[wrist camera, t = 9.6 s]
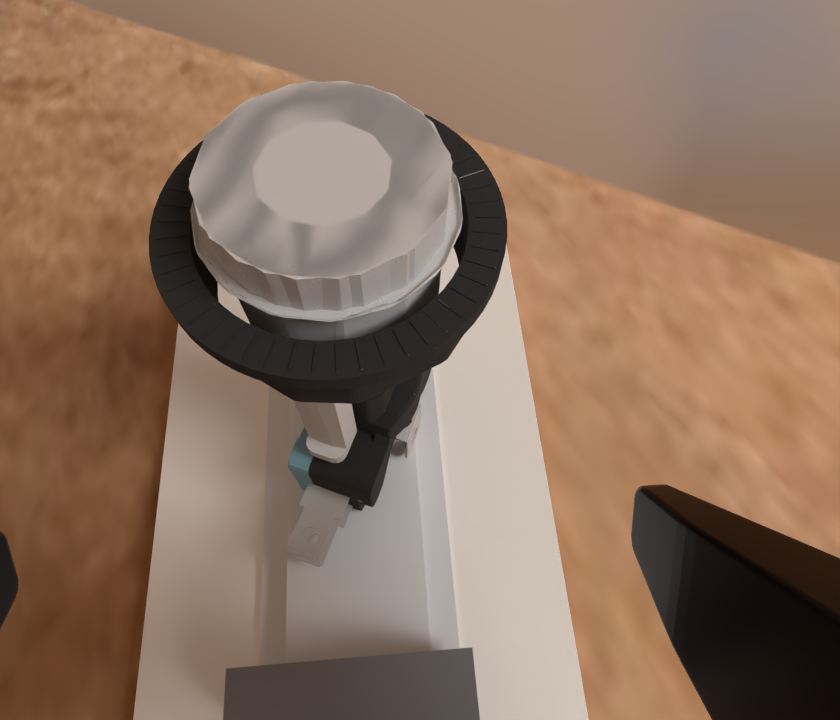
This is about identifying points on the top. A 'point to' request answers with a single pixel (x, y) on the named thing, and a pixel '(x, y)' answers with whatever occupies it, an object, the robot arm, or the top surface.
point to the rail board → (360, 555)
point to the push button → (331, 271)
